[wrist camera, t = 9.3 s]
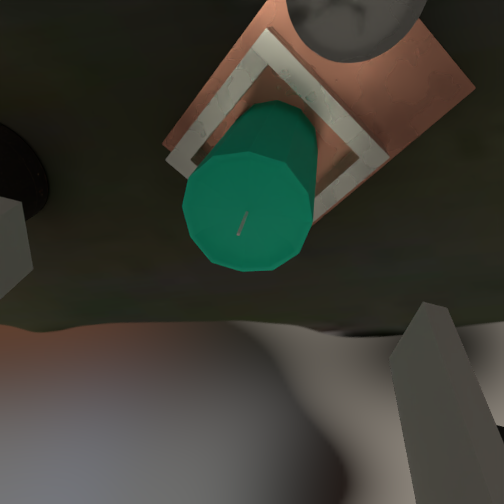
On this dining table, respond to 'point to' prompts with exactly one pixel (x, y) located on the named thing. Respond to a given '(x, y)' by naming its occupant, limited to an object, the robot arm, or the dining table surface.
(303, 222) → the candle
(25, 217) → the container
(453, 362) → the robot arm
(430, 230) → the dining table surface
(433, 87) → the brown stand with post
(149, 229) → the dining table surface
